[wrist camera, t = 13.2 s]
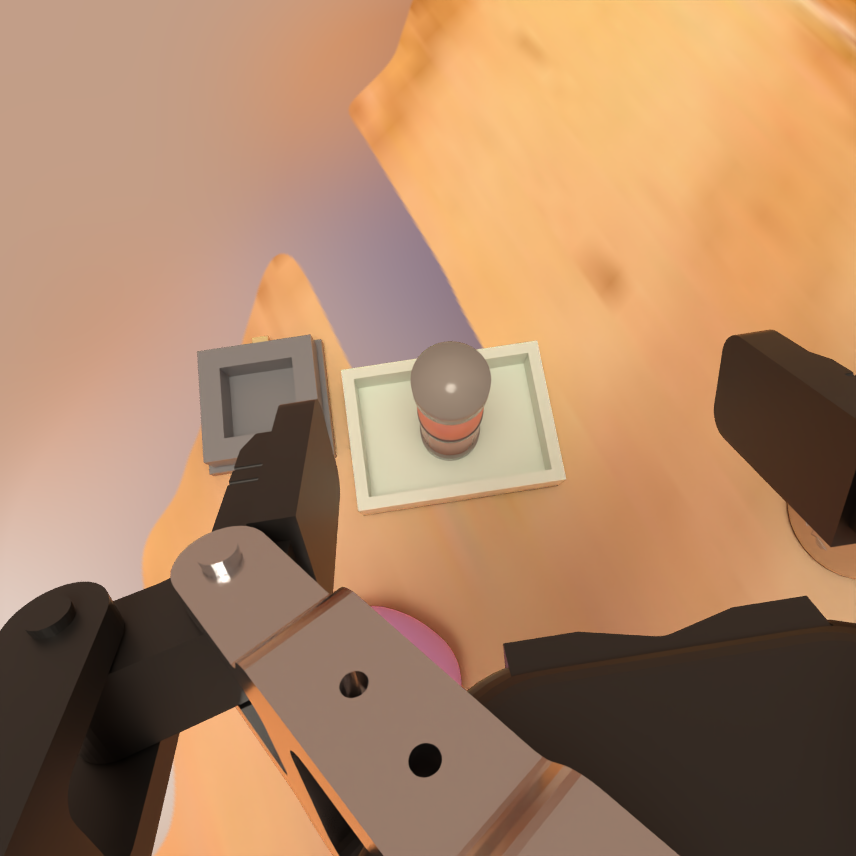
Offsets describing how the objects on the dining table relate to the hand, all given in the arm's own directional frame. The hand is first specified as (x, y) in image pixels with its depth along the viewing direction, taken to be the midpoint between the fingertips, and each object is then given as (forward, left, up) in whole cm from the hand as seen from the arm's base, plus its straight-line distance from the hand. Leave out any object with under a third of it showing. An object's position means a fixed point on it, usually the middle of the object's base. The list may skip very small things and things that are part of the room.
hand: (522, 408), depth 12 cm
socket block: (+13, -11, -30) cm, 35 cm away
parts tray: (0, -7, -30) cm, 31 cm away
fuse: (0, -7, -30) cm, 30 cm away
